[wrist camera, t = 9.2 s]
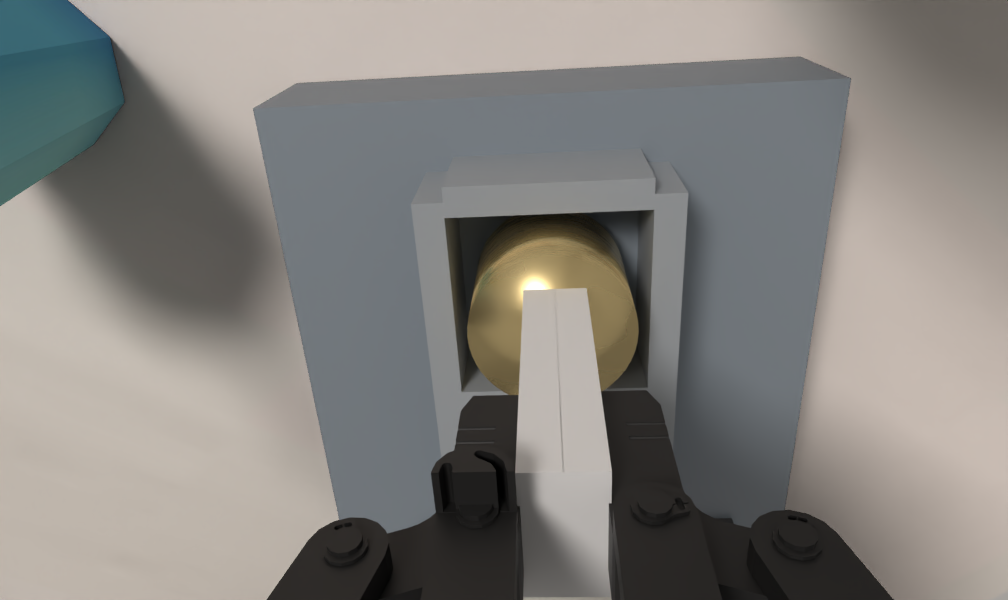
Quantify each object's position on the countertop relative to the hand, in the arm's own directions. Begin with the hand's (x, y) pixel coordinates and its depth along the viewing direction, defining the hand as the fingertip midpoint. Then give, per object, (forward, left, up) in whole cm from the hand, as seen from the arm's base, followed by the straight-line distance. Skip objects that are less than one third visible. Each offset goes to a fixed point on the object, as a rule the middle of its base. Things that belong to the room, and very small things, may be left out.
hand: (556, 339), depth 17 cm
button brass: (0, 0, -4) cm, 4 cm away
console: (0, -9, -9) cm, 12 cm away
